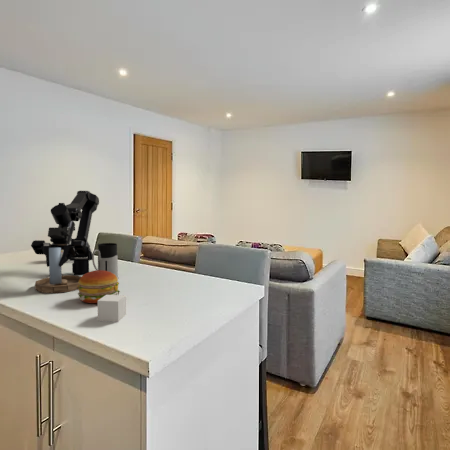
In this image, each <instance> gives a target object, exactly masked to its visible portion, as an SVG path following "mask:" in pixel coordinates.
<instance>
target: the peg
mask: <svg viewBox="0 0 450 450" xmlns="http://www.w3.org/2000/svg"><path fill="white" fill-rule="evenodd" d="M60 260H61V248H60V247H53V248H49V267H48V268H49V269H48V273H49V276H48V277H49V280H50V284H60V283H62V276H63V275H62V266H61V267H60V266H59V263H60Z"/></svg>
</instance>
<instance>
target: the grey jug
mask: <svg viewBox="0 0 450 450" xmlns="http://www.w3.org/2000/svg"><path fill="white" fill-rule="evenodd" d="M96 252H97V266H96V263H95V253H96ZM118 258H119V256H118V244H117V243H115V242H114V243H113V242H103V243H98V244H97V249H94V250H93V251H92V260H91V261H92V265H93V268H94V270H95V271H96V270H104V271H109V272H111V273H113V274H115V275H116V277H117V279H119V280H120V278H119V276H118V275H119V273H118V271H119V265H118Z"/></svg>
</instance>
